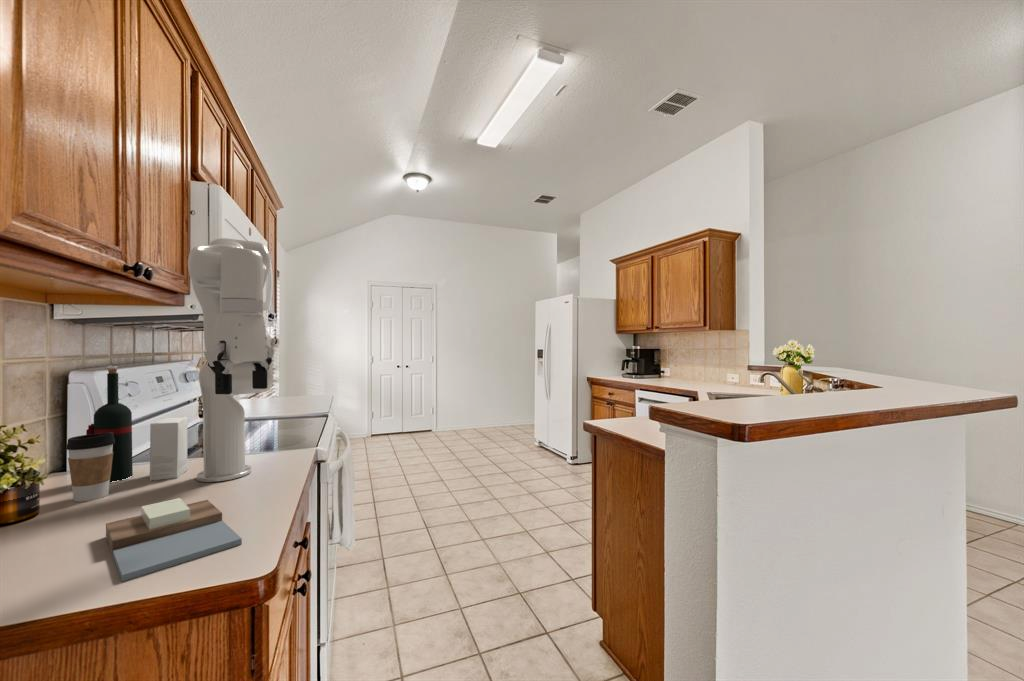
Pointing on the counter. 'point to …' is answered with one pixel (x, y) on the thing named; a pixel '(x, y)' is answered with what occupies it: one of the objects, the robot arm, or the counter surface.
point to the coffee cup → (90, 465)
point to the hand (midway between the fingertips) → (242, 391)
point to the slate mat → (173, 549)
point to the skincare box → (168, 448)
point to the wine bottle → (115, 429)
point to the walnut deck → (138, 531)
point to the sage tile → (165, 513)
